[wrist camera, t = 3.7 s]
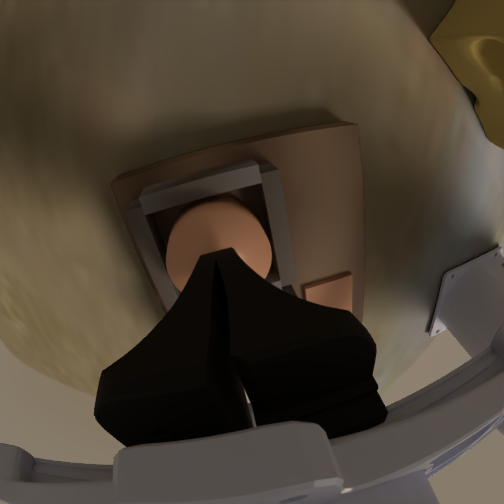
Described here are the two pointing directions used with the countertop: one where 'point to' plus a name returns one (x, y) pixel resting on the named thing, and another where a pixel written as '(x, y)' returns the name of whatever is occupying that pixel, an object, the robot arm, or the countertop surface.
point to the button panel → (265, 208)
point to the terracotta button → (215, 236)
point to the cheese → (477, 57)
